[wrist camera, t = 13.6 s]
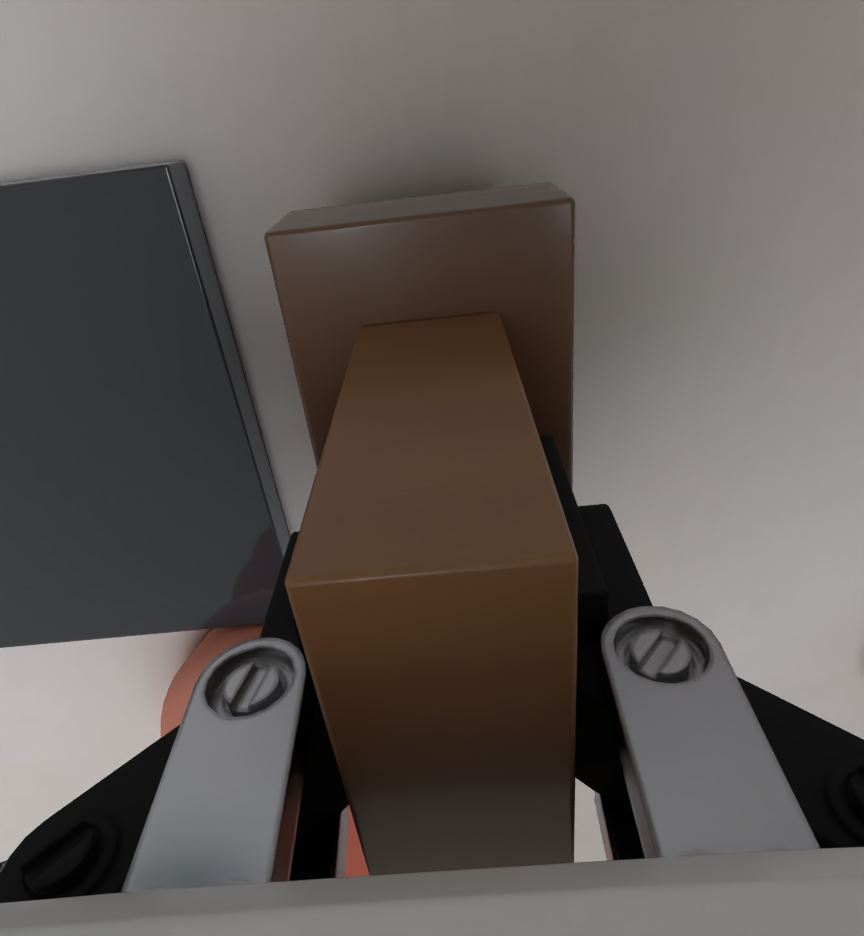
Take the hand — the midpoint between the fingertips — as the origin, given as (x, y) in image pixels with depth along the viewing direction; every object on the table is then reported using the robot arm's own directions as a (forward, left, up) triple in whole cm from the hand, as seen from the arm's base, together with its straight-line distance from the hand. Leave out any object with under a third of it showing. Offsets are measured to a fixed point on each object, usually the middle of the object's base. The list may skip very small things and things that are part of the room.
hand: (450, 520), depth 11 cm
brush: (0, 0, -4) cm, 4 cm away
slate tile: (0, -11, -5) cm, 12 cm away
